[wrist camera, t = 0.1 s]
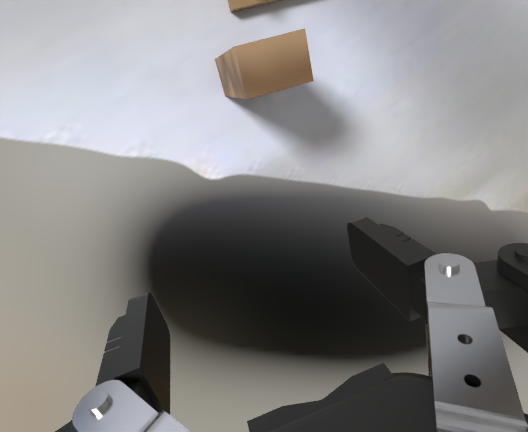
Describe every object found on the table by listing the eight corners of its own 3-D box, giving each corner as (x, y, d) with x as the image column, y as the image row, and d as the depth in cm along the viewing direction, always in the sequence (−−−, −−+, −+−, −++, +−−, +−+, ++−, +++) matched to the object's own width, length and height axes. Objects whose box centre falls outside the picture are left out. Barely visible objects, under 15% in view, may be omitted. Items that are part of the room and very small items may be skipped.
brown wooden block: (215, 59, 36) (234, 46, 25) (265, 46, 37) (304, 28, 26) (225, 96, 37) (247, 99, 27) (273, 82, 38) (313, 80, 28)
